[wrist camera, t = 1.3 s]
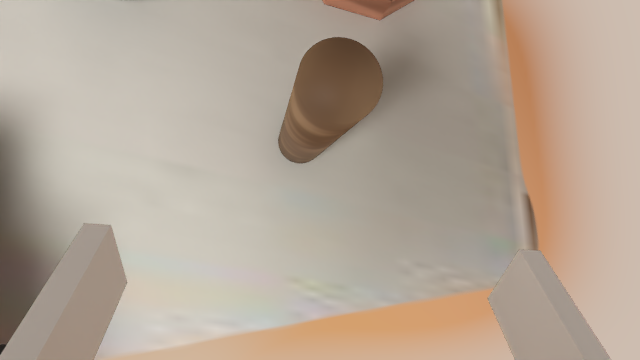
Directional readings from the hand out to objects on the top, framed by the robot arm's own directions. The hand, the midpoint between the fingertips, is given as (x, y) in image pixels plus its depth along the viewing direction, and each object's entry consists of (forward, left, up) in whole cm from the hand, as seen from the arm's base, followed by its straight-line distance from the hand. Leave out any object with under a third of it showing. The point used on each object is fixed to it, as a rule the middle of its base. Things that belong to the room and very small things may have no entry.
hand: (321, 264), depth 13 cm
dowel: (0, +7, -18) cm, 20 cm away
